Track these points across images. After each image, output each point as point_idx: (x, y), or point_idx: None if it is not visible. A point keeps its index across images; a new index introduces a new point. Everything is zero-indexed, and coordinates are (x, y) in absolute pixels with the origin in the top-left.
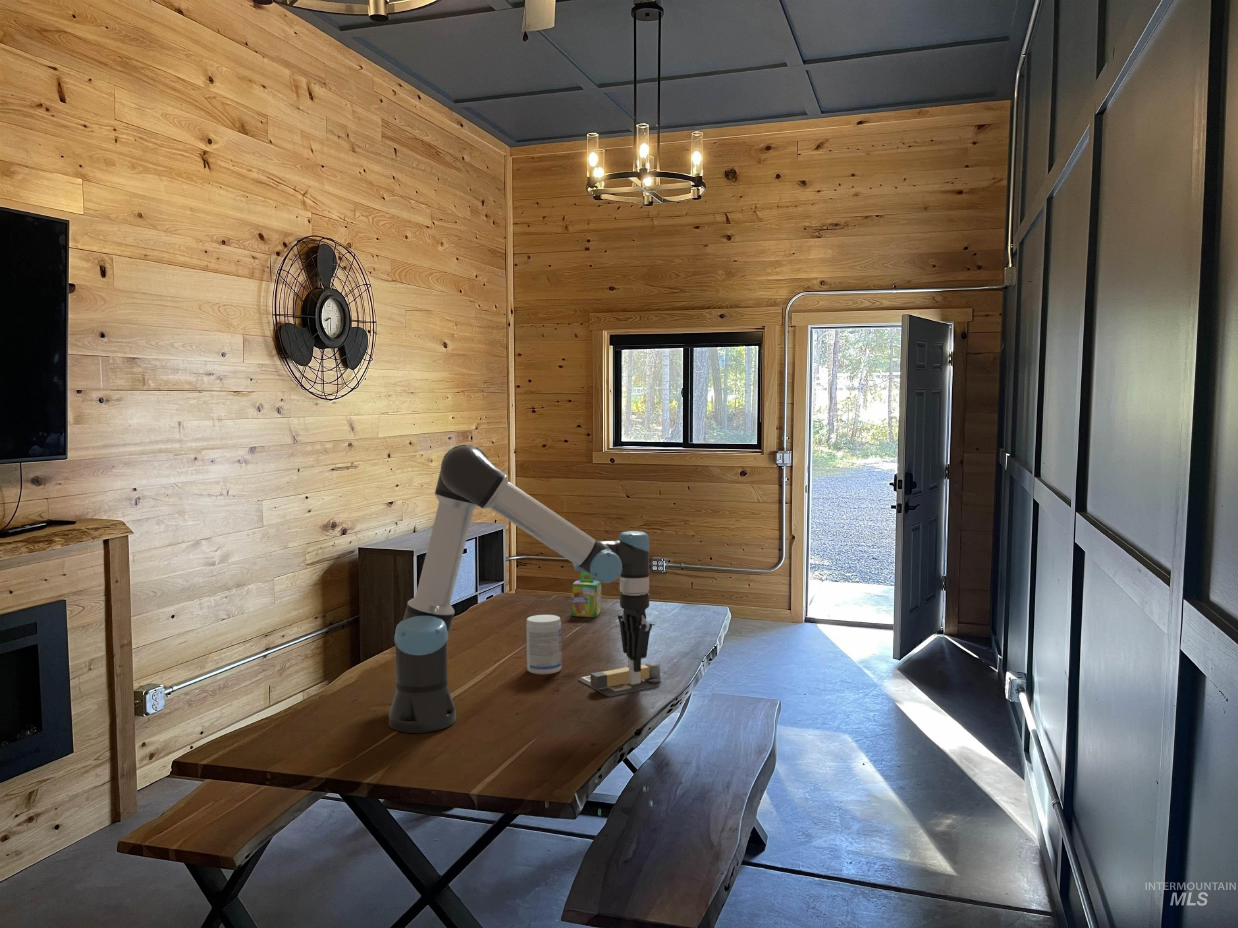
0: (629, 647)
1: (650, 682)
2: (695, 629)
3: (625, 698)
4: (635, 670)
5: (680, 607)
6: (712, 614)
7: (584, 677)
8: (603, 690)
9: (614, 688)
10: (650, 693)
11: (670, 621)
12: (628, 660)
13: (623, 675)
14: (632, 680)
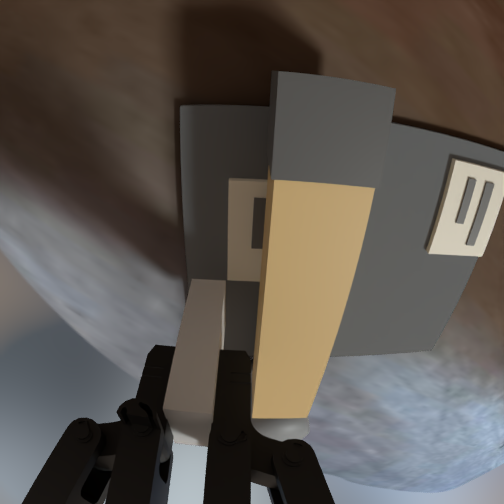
0: (204, 500)
1: (252, 363)
2: (437, 478)
3: (119, 174)
4: (159, 352)
5: (491, 468)
6: (445, 488)
7: (499, 184)
8: None
9: (259, 196)
10: (138, 301)
11: (483, 461)
12: (249, 399)
13: (262, 295)
14: (189, 298)
